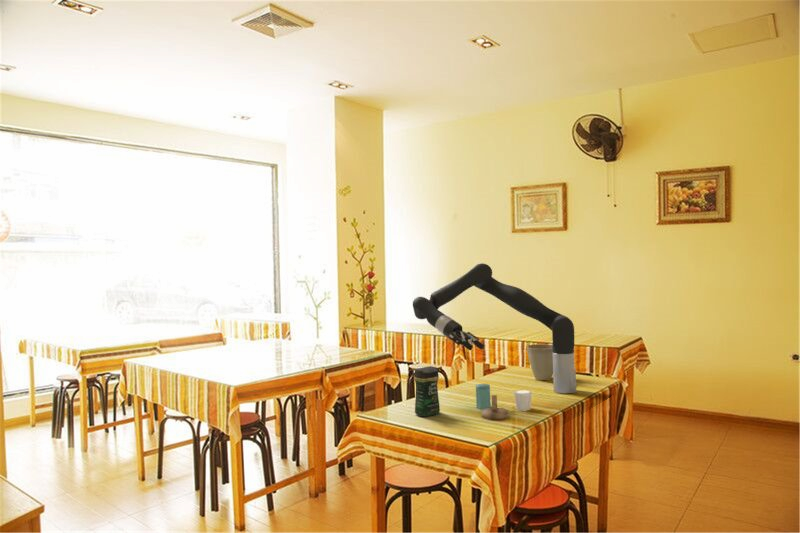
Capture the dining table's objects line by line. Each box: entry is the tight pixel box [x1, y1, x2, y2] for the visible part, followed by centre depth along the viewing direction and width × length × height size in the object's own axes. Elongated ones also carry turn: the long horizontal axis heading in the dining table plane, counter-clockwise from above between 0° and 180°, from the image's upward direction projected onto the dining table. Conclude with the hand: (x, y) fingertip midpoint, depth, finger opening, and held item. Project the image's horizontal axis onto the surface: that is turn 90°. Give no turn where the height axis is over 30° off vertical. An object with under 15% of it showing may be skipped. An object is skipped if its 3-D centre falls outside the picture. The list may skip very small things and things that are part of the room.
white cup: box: [513, 389, 532, 412], centre depth 227 cm, size 7×7×7 cm
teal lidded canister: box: [475, 383, 492, 410], centre depth 232 cm, size 6×6×9 cm
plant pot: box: [526, 343, 553, 381], centre depth 278 cm, size 15×15×16 cm
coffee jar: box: [413, 365, 441, 417], centre depth 226 cm, size 10×8×19 cm
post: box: [481, 394, 509, 421], centre depth 219 cm, size 10×10×8 cm
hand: (477, 347), depth 231 cm, fingers open, 8 cm apart
